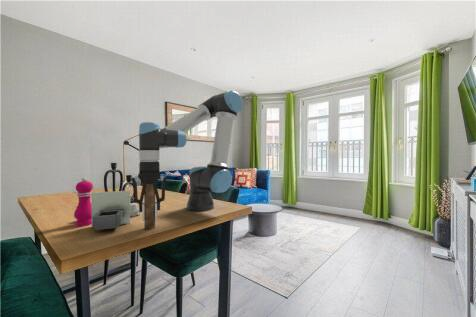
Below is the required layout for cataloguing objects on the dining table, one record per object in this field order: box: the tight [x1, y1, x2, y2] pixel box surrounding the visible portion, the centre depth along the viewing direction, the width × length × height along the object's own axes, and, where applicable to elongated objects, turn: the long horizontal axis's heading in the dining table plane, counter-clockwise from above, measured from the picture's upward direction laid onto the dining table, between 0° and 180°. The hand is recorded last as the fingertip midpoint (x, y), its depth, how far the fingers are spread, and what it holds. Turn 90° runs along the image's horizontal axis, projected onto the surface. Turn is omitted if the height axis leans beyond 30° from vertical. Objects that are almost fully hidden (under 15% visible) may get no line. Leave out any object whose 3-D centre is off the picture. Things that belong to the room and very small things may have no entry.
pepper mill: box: [73, 176, 94, 227], centre depth 91 cm, size 7×7×20 cm
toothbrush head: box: [130, 203, 141, 218], centre depth 100 cm, size 5×7×25 cm
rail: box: [143, 184, 156, 231], centre depth 86 cm, size 4×4×18 cm
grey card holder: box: [90, 190, 131, 231], centre depth 85 cm, size 14×12×14 cm
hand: (149, 218), depth 86 cm, fingers closed on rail, 4 cm apart
